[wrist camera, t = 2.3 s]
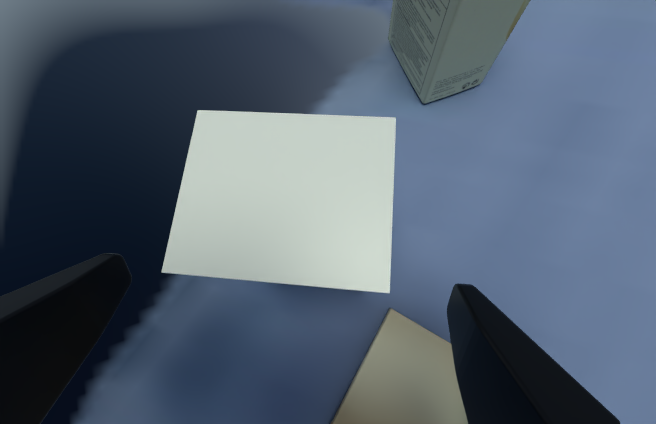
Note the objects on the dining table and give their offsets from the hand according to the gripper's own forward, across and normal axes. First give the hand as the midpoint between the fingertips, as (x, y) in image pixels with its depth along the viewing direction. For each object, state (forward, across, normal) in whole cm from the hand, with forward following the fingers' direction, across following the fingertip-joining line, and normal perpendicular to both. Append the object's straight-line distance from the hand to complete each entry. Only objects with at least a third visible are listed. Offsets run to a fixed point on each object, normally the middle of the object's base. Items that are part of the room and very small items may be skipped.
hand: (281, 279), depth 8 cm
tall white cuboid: (+8, 0, +5) cm, 10 cm away
